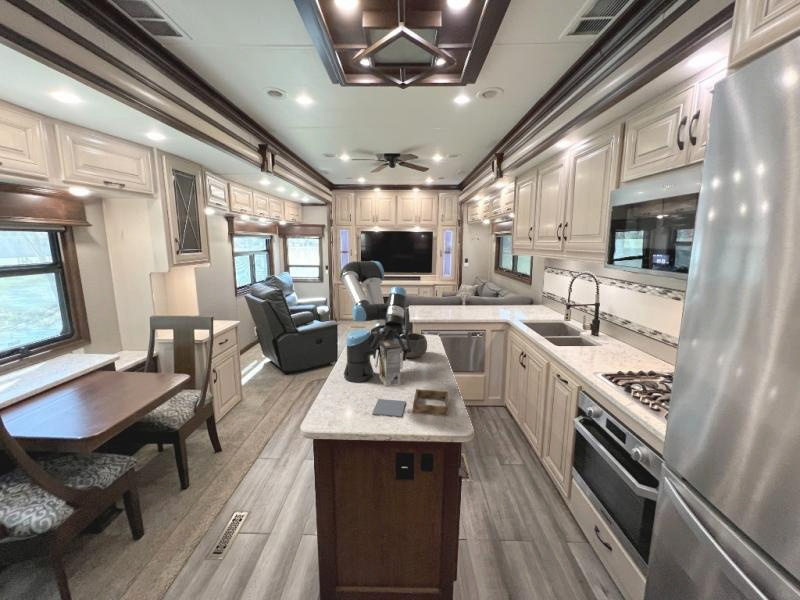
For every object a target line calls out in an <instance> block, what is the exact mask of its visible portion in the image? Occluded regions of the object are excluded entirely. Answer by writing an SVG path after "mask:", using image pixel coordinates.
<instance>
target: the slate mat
mask: <svg viewBox="0 0 800 600" xmlns="http://www.w3.org/2000/svg"><path fill="white" fill-rule="evenodd" d="M405 406H406V400H398V399H396V400H395V399H382V398H378V400H377V401H376V404H375V405H374V409H373V411H372V413H371V415H372V414H373V415H372V416H380V415H386V416H385V417H392V416H396V418H402V417H403V415H402V414H404V411H403V410H404V409H405Z"/></svg>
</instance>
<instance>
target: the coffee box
mask: <svg viewBox="0 0 800 600" xmlns="http://www.w3.org/2000/svg"><path fill="white" fill-rule="evenodd" d="M400 361H401V347H400V346H399V345H398V344H397V343H396V342H395V341H394V340H387V341H379V359H378V364H379V379H380V380H381V382H382V384H384V386H385V387H392V386H399V385H401V369H400Z"/></svg>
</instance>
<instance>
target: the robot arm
mask: <svg viewBox="0 0 800 600" xmlns="http://www.w3.org/2000/svg"><path fill="white" fill-rule="evenodd" d="M383 267H384V266H383V265H382V263H381V262H380V261H376V260H369V261H363V260H362V261H360V260H359V261H357V260H356V261H350V262H348V263H346V264H345V265H344V266H343V267H342V269H341V271H340V274H339V280H340V282H341V285H343V286H344V287H345V289H346V291H347V294H348V295H349V297H350V300H351V302H352V305H353V306H352V308H351V315H352V319H353V321H354V322H361V323H362V322H369V321H370V322H371V324H372V327H371V328H370V330H367V329H357V330H353V331H351V332H349V334H347V336H346V343H345V345H346V365H345V368H344V371H343V378H344V379H345V380H346V381H348V382H353V383H363V382H367V381H370V380H372V379H373V378H374V374H375V373H374V368H378V364H379V341H387V340H394V341H395V342H396V343H397V344H398V343H400V346H401V348H402V350H403V351H401V361H400V370H403V365H404V362H405V361H407V357H406V355H407V353H411V346H410V341H409V333H410V330H409V328H406V329H404V327H403V325H404V317H405V307H406V299H407V290H406V289H405V288H403V287H402V286H392V287H391V289H390V292H389V296H388V299H387V301H386V303H385V300H384V297H383V291H382V287H381V285H382V283H383V281H384V279H385V273H384V272H385V270H384V268H383ZM363 288H364V289H363ZM364 290H365V291H364ZM403 334H404V335H406V341H407V346H408V349H406V348H405V346H404V344H403V341H402V339H401V337H400V336H401V335H403ZM372 356H373V358H372V359H374V365H373V366H374V368H373V366H372V363H371V357H372Z"/></svg>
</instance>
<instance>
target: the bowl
mask: <svg viewBox="0 0 800 600" xmlns="http://www.w3.org/2000/svg"><path fill="white" fill-rule="evenodd" d="M400 337H401V339H402V341H403V344H404V346H405V348H406V349H408V346H407V341H406V335H404V333H402V334H401V335H400ZM409 341H410V346H411V353H407V355H406V358H409V359H418V358H420V357H422V356H424V355H425V353H426V352H427V349H428V340H427V338H426V336H425V335H424V334H422V333H417V332H409ZM398 345H399V346H400V343H398ZM400 347H401V346H400ZM401 351H403V350H402V348H401Z"/></svg>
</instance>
